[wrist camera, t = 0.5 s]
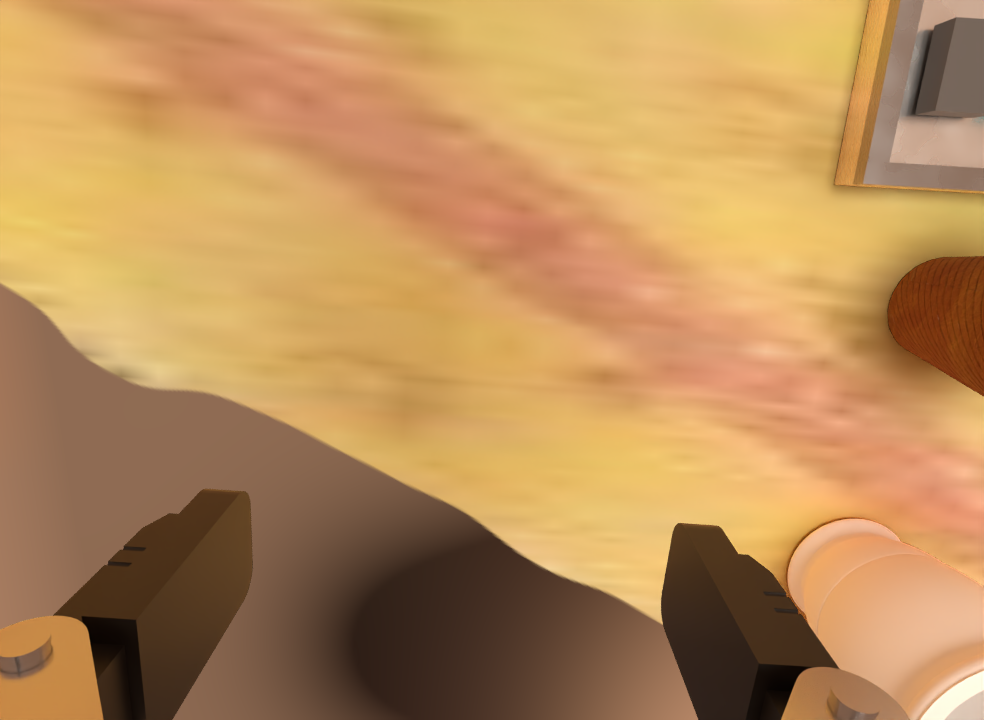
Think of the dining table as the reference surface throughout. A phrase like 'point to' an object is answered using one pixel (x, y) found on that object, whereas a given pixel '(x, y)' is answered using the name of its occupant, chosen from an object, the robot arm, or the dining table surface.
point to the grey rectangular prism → (954, 70)
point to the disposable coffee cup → (943, 316)
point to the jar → (894, 617)
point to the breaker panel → (907, 107)
